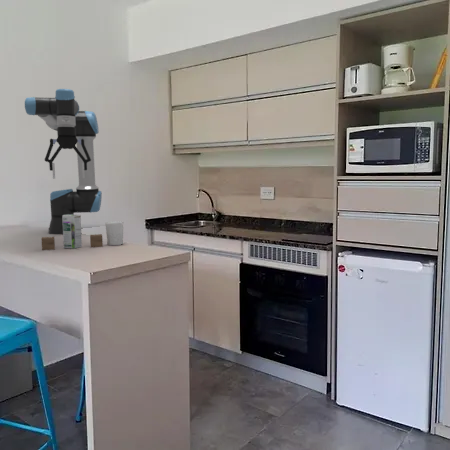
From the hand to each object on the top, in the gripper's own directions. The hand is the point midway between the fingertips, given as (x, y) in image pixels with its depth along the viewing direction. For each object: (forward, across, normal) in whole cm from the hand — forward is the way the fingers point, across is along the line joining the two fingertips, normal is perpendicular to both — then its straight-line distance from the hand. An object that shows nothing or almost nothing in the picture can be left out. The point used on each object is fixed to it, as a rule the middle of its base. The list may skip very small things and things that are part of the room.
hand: (69, 178), depth 195 cm
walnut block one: (+30, +10, 0) cm, 32 cm away
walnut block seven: (+30, -10, 0) cm, 32 cm away
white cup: (+30, +18, +2) cm, 36 cm away
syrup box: (+30, 0, 0) cm, 30 cm away
